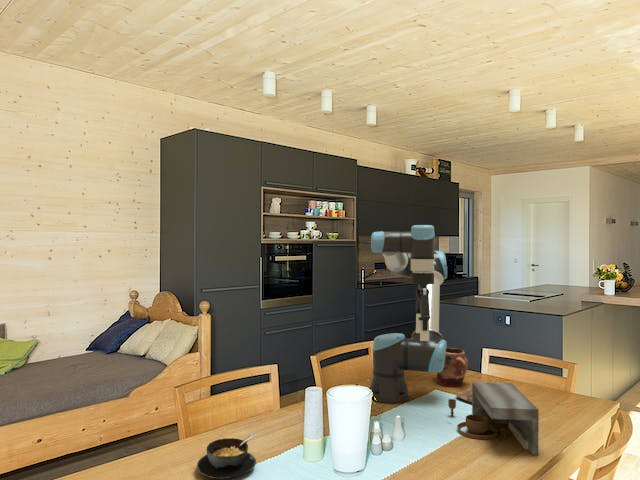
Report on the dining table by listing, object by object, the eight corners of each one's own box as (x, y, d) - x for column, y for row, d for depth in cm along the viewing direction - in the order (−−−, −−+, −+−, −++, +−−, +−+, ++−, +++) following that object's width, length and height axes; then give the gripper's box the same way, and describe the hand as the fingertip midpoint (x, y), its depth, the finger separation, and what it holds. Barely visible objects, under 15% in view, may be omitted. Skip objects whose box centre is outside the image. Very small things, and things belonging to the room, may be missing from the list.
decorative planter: (480, 389, 198) (480, 354, 198) (454, 393, 193) (454, 356, 194) (450, 376, 216) (450, 344, 217) (426, 379, 212) (426, 346, 212)
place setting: (447, 438, 150) (447, 418, 150) (445, 416, 170) (445, 398, 170) (509, 444, 146) (509, 423, 146) (500, 420, 166) (500, 402, 166)
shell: (474, 394, 193) (475, 384, 193) (501, 403, 182) (502, 393, 182) (452, 397, 187) (453, 387, 187) (479, 407, 176) (479, 397, 176)
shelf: (491, 453, 138) (491, 407, 138) (472, 420, 164) (472, 382, 164) (538, 455, 137) (538, 409, 137) (511, 422, 162) (512, 383, 163)
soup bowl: (196, 458, 135) (197, 430, 135) (256, 452, 139) (256, 425, 139) (196, 484, 120) (197, 453, 120) (263, 477, 124) (263, 447, 124)
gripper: (439, 274, 153) (439, 344, 153) (429, 269, 178) (429, 330, 178) (414, 274, 154) (414, 344, 154) (407, 269, 179) (407, 329, 179)
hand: (422, 336), depth 166 cm, fingers open, 13 cm apart
